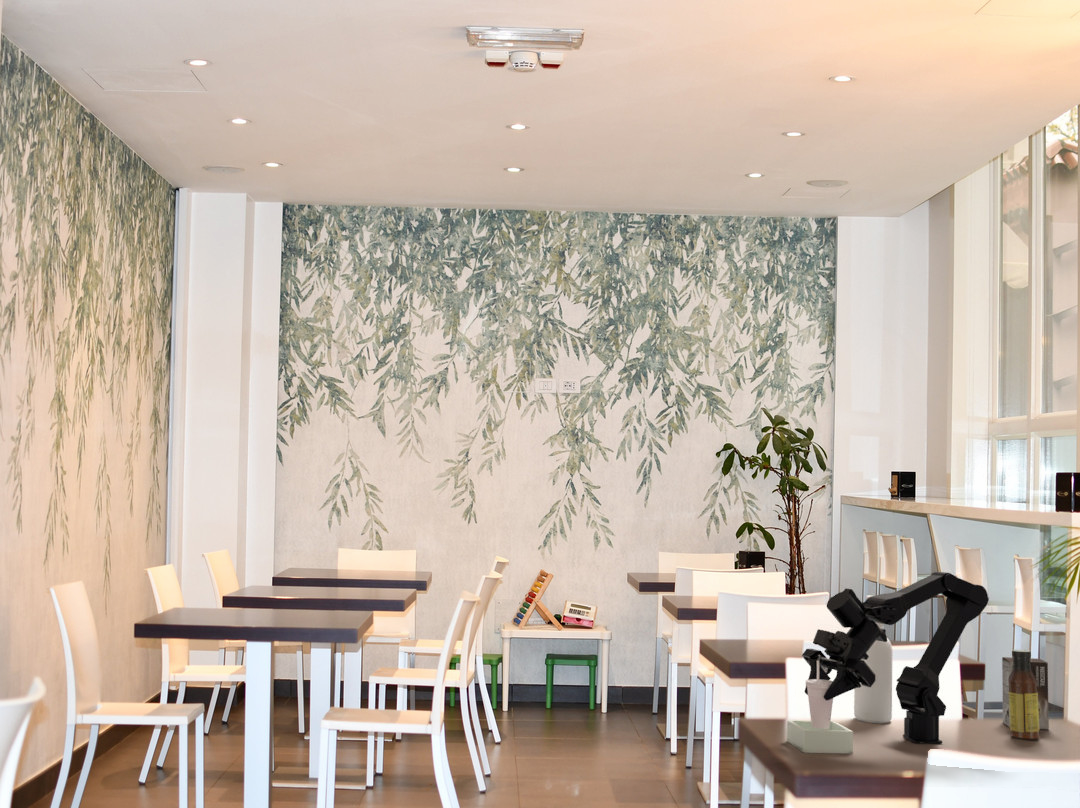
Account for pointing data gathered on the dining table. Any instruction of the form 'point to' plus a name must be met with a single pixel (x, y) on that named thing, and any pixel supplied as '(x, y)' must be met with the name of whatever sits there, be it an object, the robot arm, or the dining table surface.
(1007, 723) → the coffee box
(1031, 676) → the sauce bottle
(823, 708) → the smoothie
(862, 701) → the alcohol
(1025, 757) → the dining table surface
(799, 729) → the bin
